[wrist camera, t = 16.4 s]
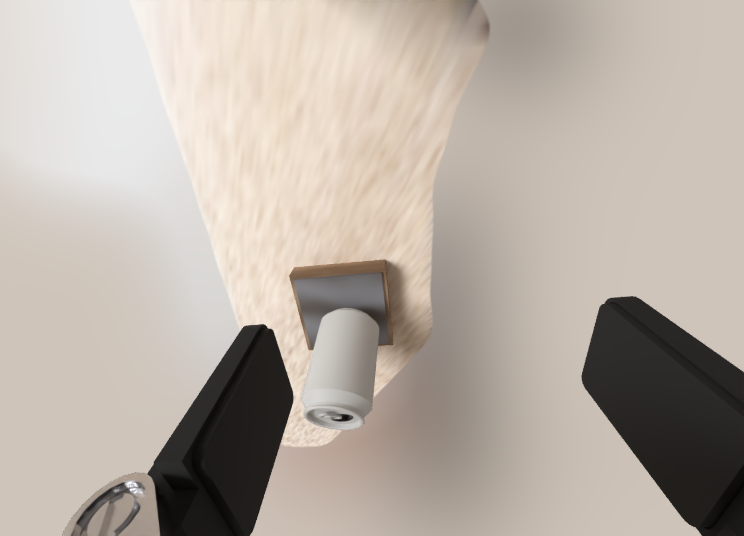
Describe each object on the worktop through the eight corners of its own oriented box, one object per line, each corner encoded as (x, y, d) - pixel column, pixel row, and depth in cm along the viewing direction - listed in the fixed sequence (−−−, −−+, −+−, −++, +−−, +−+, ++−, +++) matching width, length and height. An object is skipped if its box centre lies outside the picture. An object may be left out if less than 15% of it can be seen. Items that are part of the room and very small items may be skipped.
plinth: (295, 265, 40) (288, 277, 37) (385, 257, 39) (385, 268, 36) (313, 336, 46) (308, 351, 43) (392, 331, 45) (393, 346, 42)
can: (352, 344, 42) (337, 438, 34) (310, 318, 39) (281, 416, 31) (392, 325, 38) (386, 427, 30) (348, 295, 35) (327, 400, 26)
